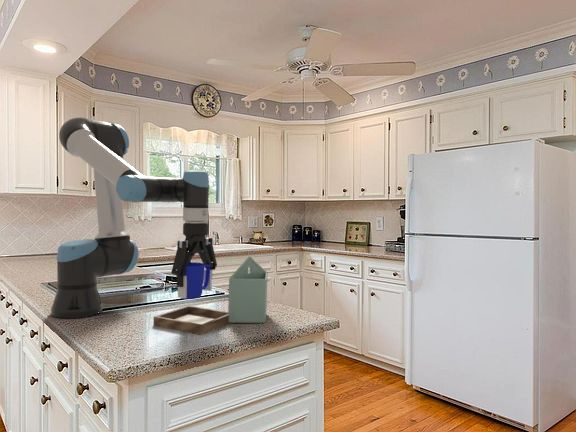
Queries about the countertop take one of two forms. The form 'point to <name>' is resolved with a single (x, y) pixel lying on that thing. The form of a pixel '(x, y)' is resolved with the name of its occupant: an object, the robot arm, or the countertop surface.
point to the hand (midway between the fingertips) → (195, 293)
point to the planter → (248, 294)
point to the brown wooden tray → (192, 319)
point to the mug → (196, 279)
